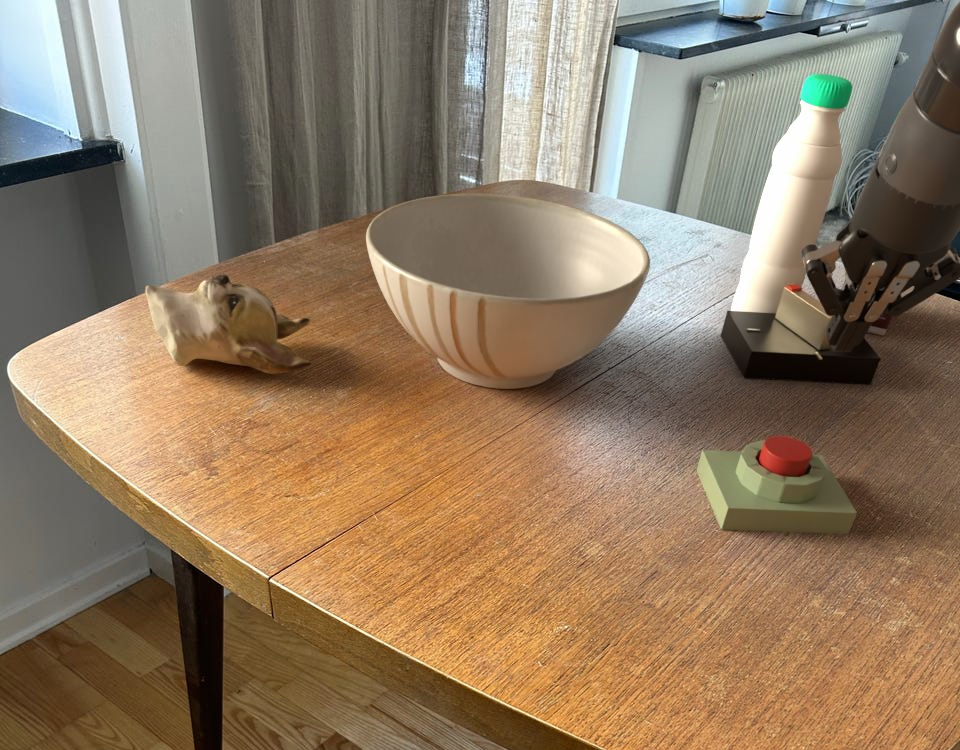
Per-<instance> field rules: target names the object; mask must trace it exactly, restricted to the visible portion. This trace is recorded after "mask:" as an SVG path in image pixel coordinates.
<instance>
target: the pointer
mask: <svg viewBox="0 0 960 750" xmlns="http://www.w3.org/2000/svg"><path fill="white" fill-rule="evenodd" d="M775 318H776V319H777V320H778V321H780V322H781V323H782V324H784V325H785V326H787V327H788V328H789V329H791V330H792V331H793V332H795V333H796V334H797V335H799V336H800V337H802V338H803V339H804V340H806V341H807V342H808V343H810V344H811V345H812V346H814V347H815V348H817V349H818V350H825V349H831V345H829V342H828V338H827V334H826V328H827V326H828V324H829V322H830V321H831V318H832V316H829V315H827V314H826V312H825V310H824V308H823V306H822V304H821V302H820V300H819V299H817V298H815V297H814V296H812V295H811V294H809V293H808V292H806V291H805V290H803V286H802V287H800V286H799V285H797V284H795V285H787V287H784V290H783V293H782V296H781V299H780V303H779V306H778V309H777V313H776V316H775Z"/></svg>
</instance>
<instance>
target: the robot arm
mask: <svg viewBox="0 0 960 750" xmlns="http://www.w3.org/2000/svg"><path fill="white" fill-rule="evenodd" d="M959 231H960V1H958V3H957V4H956V5H955V6H954V7H953V9H952V11H951V12H950V14H948V17H947V18H946V20H945V22H944V24H943V26H942V28H941V30H940V32H939V35H938V37H937V38H936V41H935V43H934V45H933V48H932V50H931V51H930V54H929V56H928V58H927V60H926V62H925V64H924V66H923V68H922V70H921V72H920V75H919V77H918V79H917V81H916V83H915V86H914V88H913V89H912V91H911V93H910V94H909V96H908V97H907V99H906V101H905V102H904V104H903V105H902V107H901V108H900V110H899V112H898V114H897V115H896V118H895V119H894V122H893V123H892V126H891V127H890V130H889V132H888V134H887V135H886V138H885V140H884V143H883V145H882V146H881V149H880V150H879V154H878V155H877V158H876V160H875V162H874V164H873V166H872V168H871V170H870V173H869V175H868V177H867V179H866V181H865V182H864V185H863V187H862V189H861V192H860V194H859V196H858V197H857V201H856V203H855V207H854V211H853V213H852V216H851V217H850V219H849V220H848V222H847V223H846V224H845V225H843V226H842V227H841V228H840V229H839V230H838V232H837V233H836V236H835V240H834V241H832V242H830V243H828V244H825V245H824V246H822V247H820V248H818V245H816V244H815V245H813V244H810V245H807V246H805V247H804V248H803V249H802V252H801V253H802V257H803V262H804V266H805V270H806V277H807V279H808V281H809V283H810V285H811V286H812V289H813V291H814V292H815V294H816V296H817V298H818V301H819V302H821V304H822V306H823V308H824V310H825V312H826V314H827V315H829V316H832V318H831V321H830V322H829V324H828V326H827V328H826V334H827V338H828V342H829V345H831V347H832V351H833V352H851V351H852V349H853V347H854V346H858V345H859V344H860V343H861V342H862V340H863V339H864V338H865V336H866V335H867V331H868V330H869V328H870V326H871V324H872V323H873V321H876V320H877V319H878V318H879V317H880V315H883V314H888V313H889V314H890V316H892V318H896V317H899V316H901V315H903V314H904V313H906V312H908V311H909V310H911V309H912V308H914V307H916V306H918V305H919V304H921V303H923V302H924V301H926V300H928V299H929V298H930V297H932V296H934V295H935V294H937V293H938V292H940V291H942V290H943V289H946V288H947V287H949V286H950V285H952V284H953V283H955V282H957V281H959V280H960V257H959V253H958V251H957V249H956V247H954V246H951V244H952V242H953V240H954V239H955V238H956V236H957V235H958V233H959ZM839 259H840V260H841V262H842V265H843V267H844V271H845V273H844V276H845V278H844V282H843V284H842V286H841V288H838V287H837V285H836V283H835V281H834V279H833V272H834V271H835V270H836V262H837V261H838V260H839ZM912 287H913V289H912V290H911V291H909V292H908V293H907V294H905V295H903V296H902V294H903V293H904V292H906V291H908V290H909V289H911V288H912Z"/></svg>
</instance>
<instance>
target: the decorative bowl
mask: <svg viewBox="0 0 960 750" xmlns="http://www.w3.org/2000/svg"><path fill="white" fill-rule="evenodd" d="M365 242H366V248H367V253H368V257H369V261H370V264H371V267H372V270H373V273H374V276H375V279H376V281H377V284H378V286H379V288H380V291H381V294H382V296H383V298H384V299H385V301H386V303H387V305H388V306H389V308H390V310H391V312H392V313H393V315H394V316H395V318H396V319H397V321H398V322H399V323H400V325H401V326H402V327H403V329H404V330H405V331H406V332H407V334H408V335H410V337H411V338H412V339H413V340H414V341H415V342H416V343H417V344H419V345H420V346H421V347H422V348H423V349H424V350H426V351H427V352H429V353H430V354H431V355H433V356H434V357H436V359H437V362H438V363H439V365H440V367H441V368H442V369H443V370H444V371H445V372H447V373H448V374H449V375H451V376H453V377H454V378H456V379H458V380H461V381H463V382H464V383H468V384H471V385H475V386H479V387H484V388H490V389H500V390H513V389H514V390H515V389H525V388H529V387H534V386H537V385H541V384H542V383H544V382H547V381H548V380H550V379H551V378H552V377H553V376H554V375H555V373H556V371H558V370H560V369H563V368H565V367H567V366H569V365H571V364H574V363H575V362H576V361H579V360H580V359H582V358H583V357H584V356H586V355H588V354H589V353H590V352H592V351H593V350H594V349H595V348H596V347H598V346H599V345H600V344H601V343H602V342H603V341H604V340H605V339H606V338H607V337H609V335H610V334H612V332H613V331H614V330H615V329H616V327H617V326H618V325H619V324H620V323H621V321H622V320H623V319H624V318H625V316H626V315H627V313H628V312H629V310H630V309H631V307H632V306H633V304H634V303H635V301H636V299H637V297H638V295H639V294H640V292H641V290H642V288H643V286H644V284H645V282H646V279H647V277H648V274H649V273H650V269H651V258H650V254H649V252H648V250H647V248H646V247H645V245H644V244H643V243H642V242H641V241H640V239H639V238H638V237H636V236H635V235H634V234H632V233H631V232H630V231H628V230H627V229H625V228H624V227H622V226H620V225H619V224H617V223H615V222H612V221H611V220H609V219H607V218H605V217H602V216H600V215H597V214H595V213H593V212H590V211H586V210H583V209H580V208H577V207H574V206H571V205H567V204H562V203H558V202H553V201H548V200H544V199H537V198H531V197H526V196H525V197H524V196H518V195H510V194H509V195H507V194H494V193H454V194H441V195H433V196H426V197H421V198H417V199H413V200H407V201H404V202H401V203H399V204H396V205H394V206H391V207H389V208H386V209H385V210H383V211H382V212H380V213H379V214H378V215H376V216H375V217H374V218H373V219H372V220H371V222H370V223H369V225H368V226H367V229H366V233H365Z"/></svg>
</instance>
